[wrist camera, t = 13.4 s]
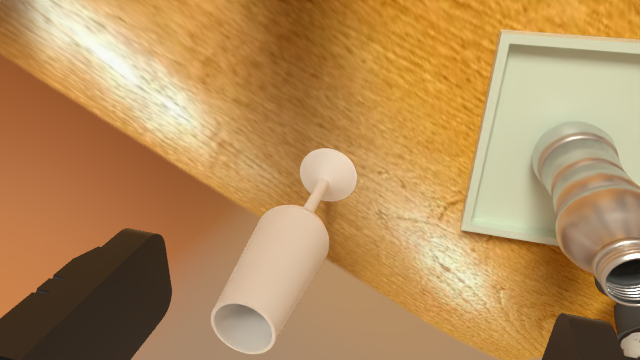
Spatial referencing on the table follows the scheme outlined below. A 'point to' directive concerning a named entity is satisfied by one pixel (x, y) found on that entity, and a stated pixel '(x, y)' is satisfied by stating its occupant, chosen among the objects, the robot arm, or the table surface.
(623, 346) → the sundae
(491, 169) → the tray
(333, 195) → the champagne flute
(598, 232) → the silver metal bottle
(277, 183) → the table surface
